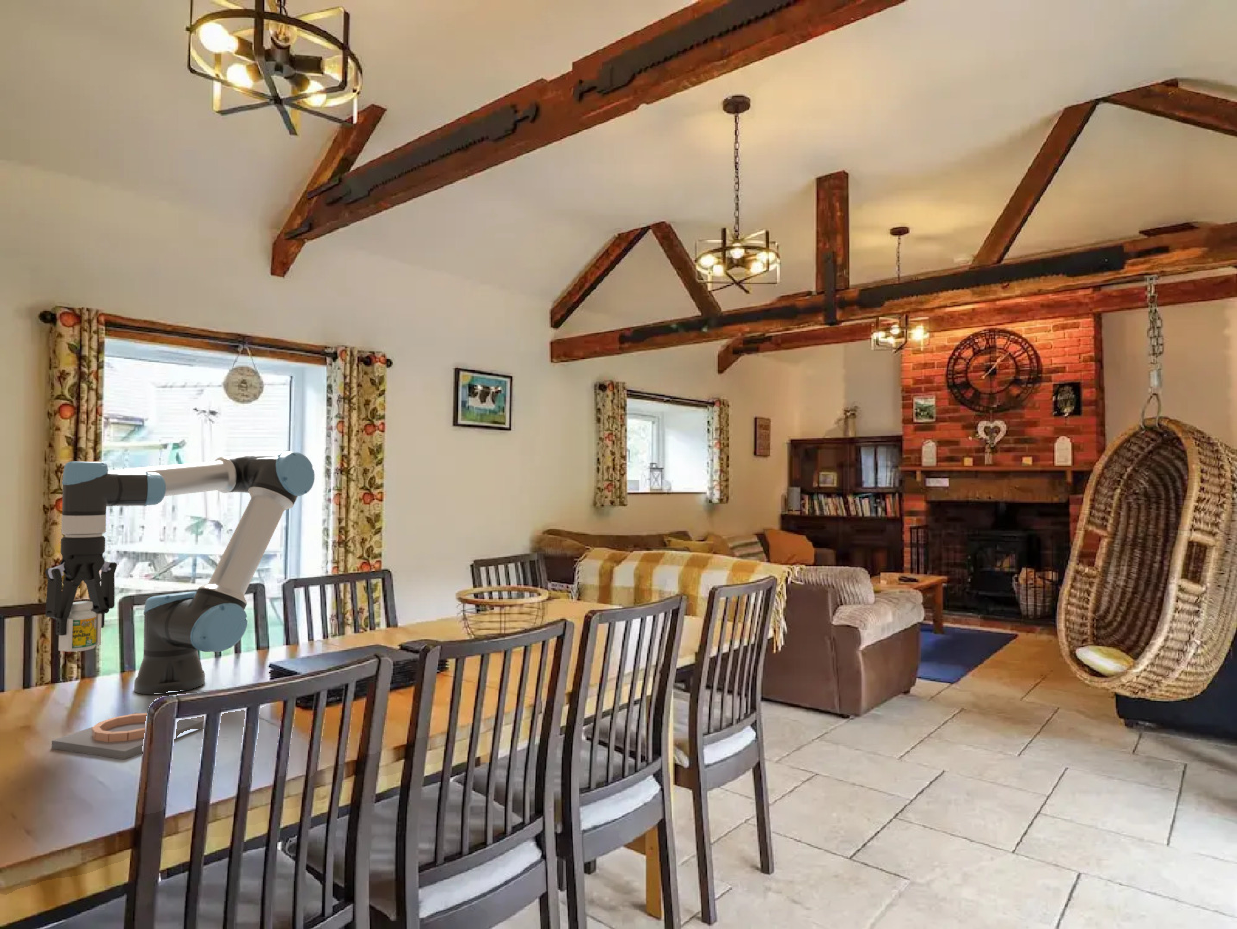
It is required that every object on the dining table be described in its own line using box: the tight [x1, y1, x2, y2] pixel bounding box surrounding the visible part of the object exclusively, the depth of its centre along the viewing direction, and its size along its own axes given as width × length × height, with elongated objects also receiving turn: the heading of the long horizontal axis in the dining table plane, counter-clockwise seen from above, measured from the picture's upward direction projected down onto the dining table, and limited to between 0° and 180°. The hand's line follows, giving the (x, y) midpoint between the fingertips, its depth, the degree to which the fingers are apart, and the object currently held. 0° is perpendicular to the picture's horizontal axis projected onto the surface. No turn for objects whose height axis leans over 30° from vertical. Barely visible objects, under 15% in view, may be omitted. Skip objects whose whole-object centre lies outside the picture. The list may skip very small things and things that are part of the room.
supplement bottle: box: [69, 600, 97, 652], centre depth 155 cm, size 5×5×10 cm
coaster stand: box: [51, 712, 204, 760], centre depth 150 cm, size 18×18×3 cm
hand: (80, 647), depth 155 cm, fingers closed on supplement bottle, 5 cm apart
